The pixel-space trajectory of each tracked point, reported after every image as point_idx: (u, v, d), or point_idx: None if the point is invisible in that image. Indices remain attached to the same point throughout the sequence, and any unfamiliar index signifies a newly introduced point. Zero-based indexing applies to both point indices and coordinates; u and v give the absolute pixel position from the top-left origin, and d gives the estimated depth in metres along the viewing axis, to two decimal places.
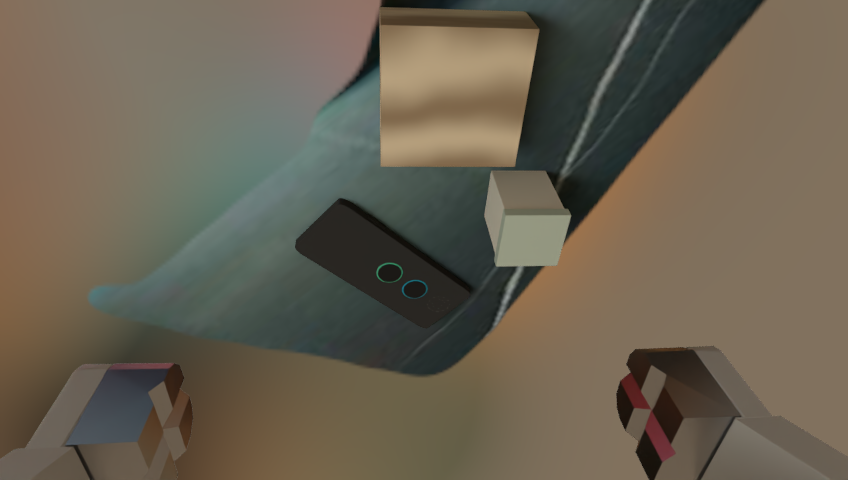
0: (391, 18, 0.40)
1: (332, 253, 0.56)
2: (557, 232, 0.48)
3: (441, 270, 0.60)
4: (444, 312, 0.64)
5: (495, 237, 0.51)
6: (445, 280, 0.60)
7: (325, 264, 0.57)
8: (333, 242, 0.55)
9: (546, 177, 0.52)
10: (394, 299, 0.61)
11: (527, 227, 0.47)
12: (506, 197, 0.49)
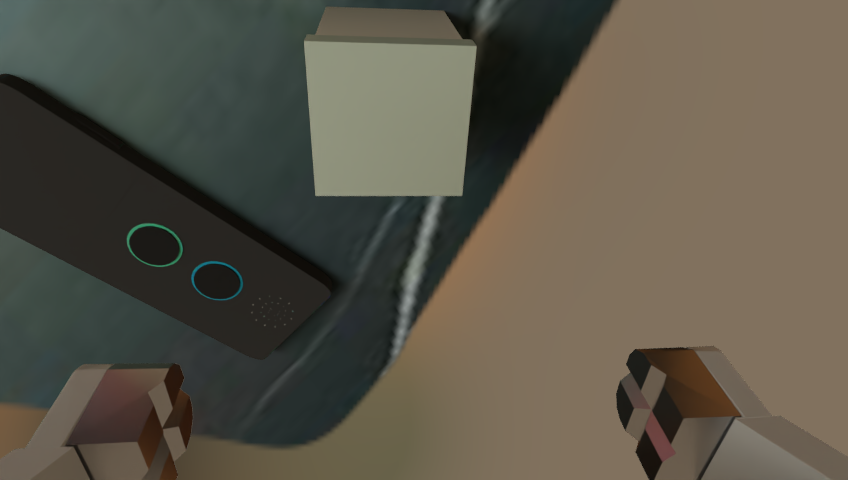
0: None
1: (19, 201, 0.28)
2: (448, 99, 0.20)
3: (263, 241, 0.31)
4: (288, 328, 0.34)
5: None
6: (274, 262, 0.31)
7: (14, 227, 0.28)
8: (11, 175, 0.27)
9: (442, 15, 0.24)
10: (183, 302, 0.32)
11: (369, 82, 0.19)
12: (332, 28, 0.21)
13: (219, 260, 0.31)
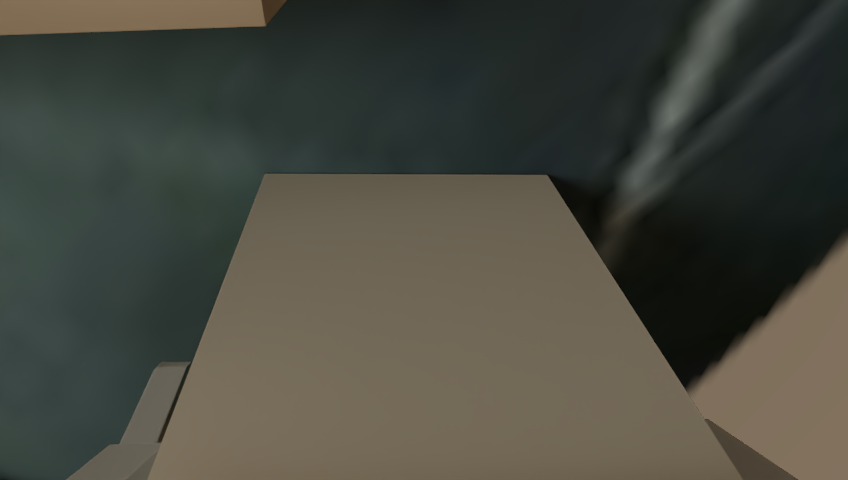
0: None
1: None
2: None
3: None
4: None
5: None
6: None
7: None
8: None
9: (554, 206, 0.10)
10: None
11: None
12: (245, 351, 0.06)
13: None
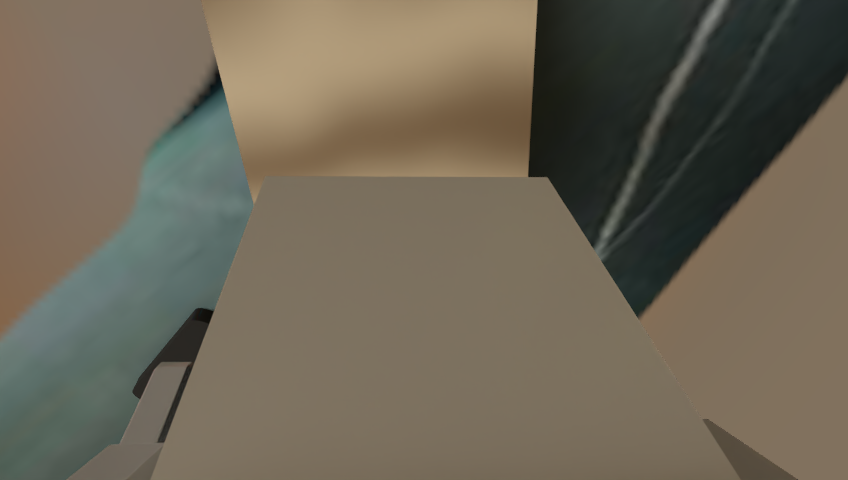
0: None
1: None
2: None
3: None
4: None
5: None
6: None
7: None
8: None
9: (554, 208, 0.10)
10: None
11: None
12: (246, 355, 0.06)
13: None
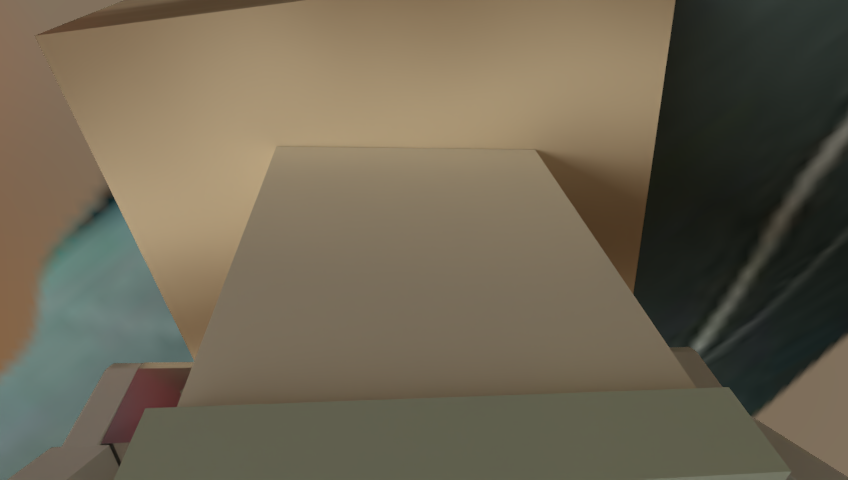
0: (119, 12, 0.11)
1: None
2: None
3: None
4: None
5: None
6: None
7: None
8: None
9: (540, 174, 0.10)
10: None
11: None
12: (266, 284, 0.07)
13: None
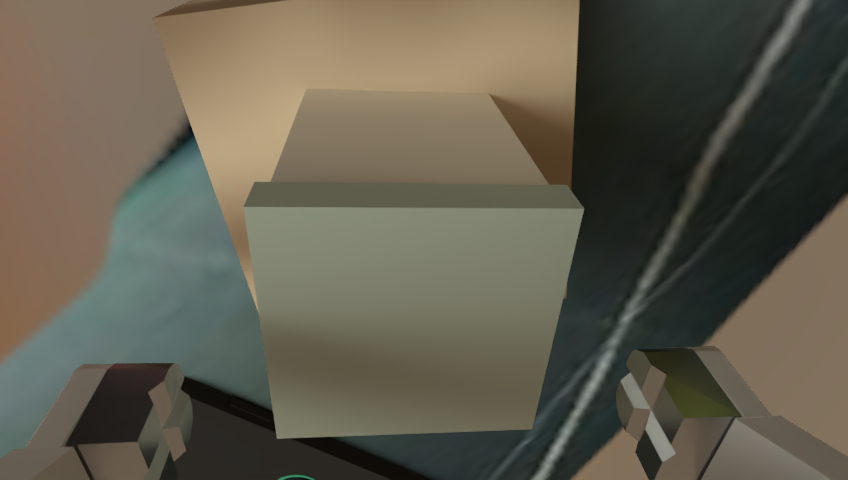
0: (201, 4, 0.16)
1: (179, 470, 0.30)
2: (522, 294, 0.10)
3: (394, 474, 0.32)
4: None
5: None
6: None
7: None
8: None
9: (488, 106, 0.15)
10: None
11: (374, 271, 0.10)
12: (308, 148, 0.12)
13: None
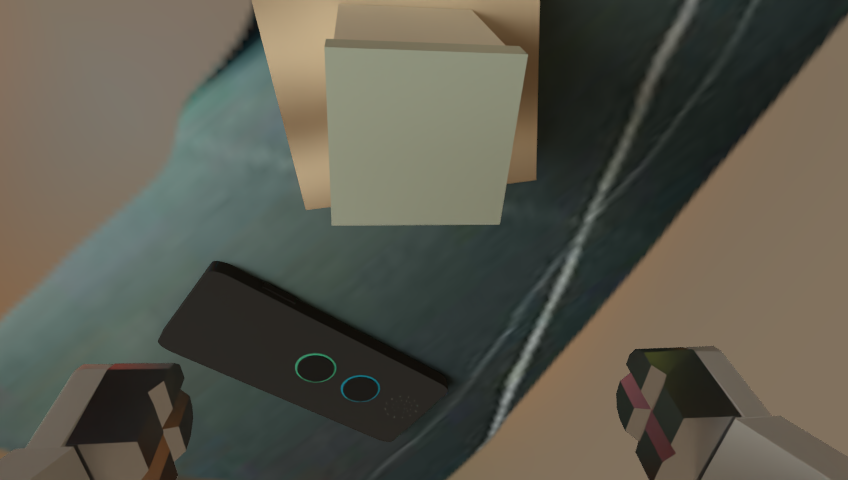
0: None
1: (219, 346, 0.36)
2: (491, 116, 0.17)
3: (396, 357, 0.39)
4: (413, 417, 0.42)
5: None
6: (405, 372, 0.39)
7: (213, 363, 0.37)
8: (216, 330, 0.35)
9: (471, 15, 0.21)
10: (333, 405, 0.40)
11: (400, 95, 0.16)
12: (351, 30, 0.18)
13: (363, 374, 0.39)
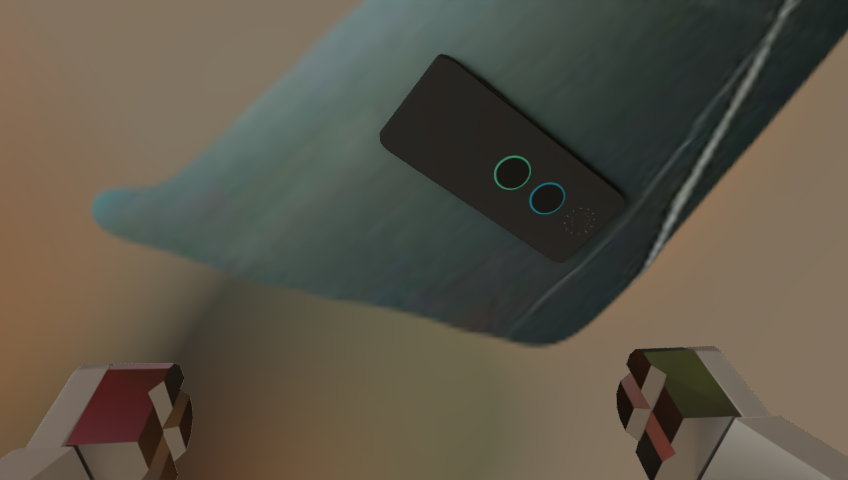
0: None
1: (432, 146, 0.39)
2: None
3: (584, 164, 0.42)
4: (587, 234, 0.45)
5: None
6: (590, 179, 0.42)
7: (422, 166, 0.40)
8: (433, 127, 0.39)
9: None
10: (518, 218, 0.44)
11: None
12: None
13: (553, 181, 0.42)
